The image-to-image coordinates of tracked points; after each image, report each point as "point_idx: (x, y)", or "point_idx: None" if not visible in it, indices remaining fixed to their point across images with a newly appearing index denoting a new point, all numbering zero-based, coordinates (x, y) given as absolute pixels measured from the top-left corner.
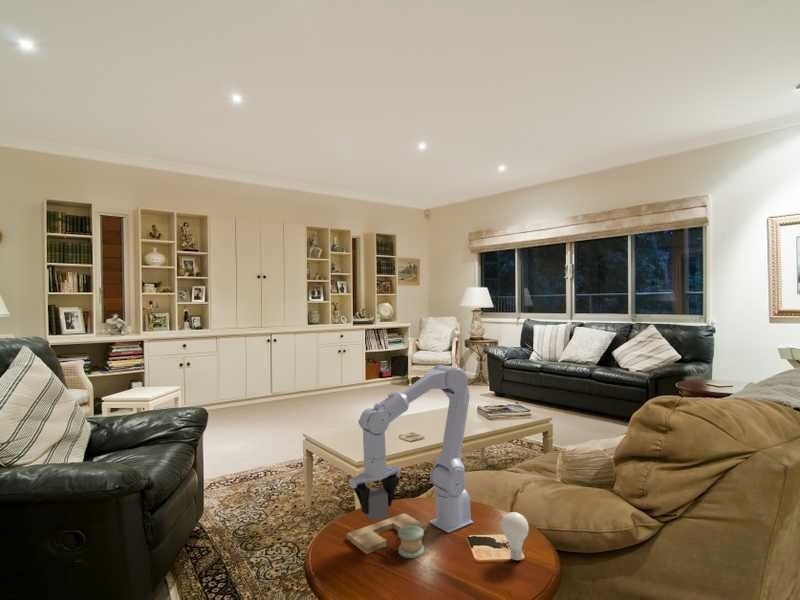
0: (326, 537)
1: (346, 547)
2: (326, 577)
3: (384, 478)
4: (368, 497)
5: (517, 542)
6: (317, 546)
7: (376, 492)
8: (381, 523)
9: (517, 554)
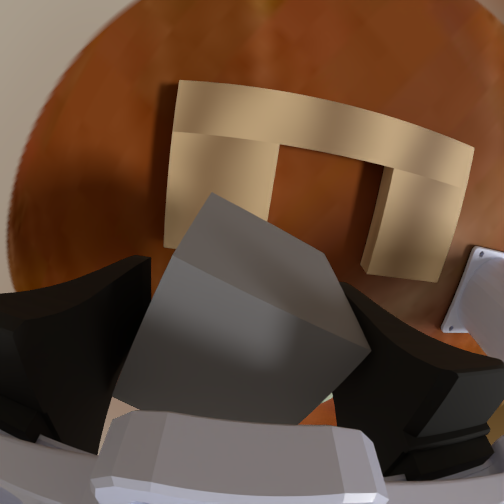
0: (137, 20)
1: (142, 140)
2: (28, 252)
3: (404, 430)
4: (107, 402)
5: None
6: (77, 63)
7: (219, 393)
8: (358, 127)
9: None
